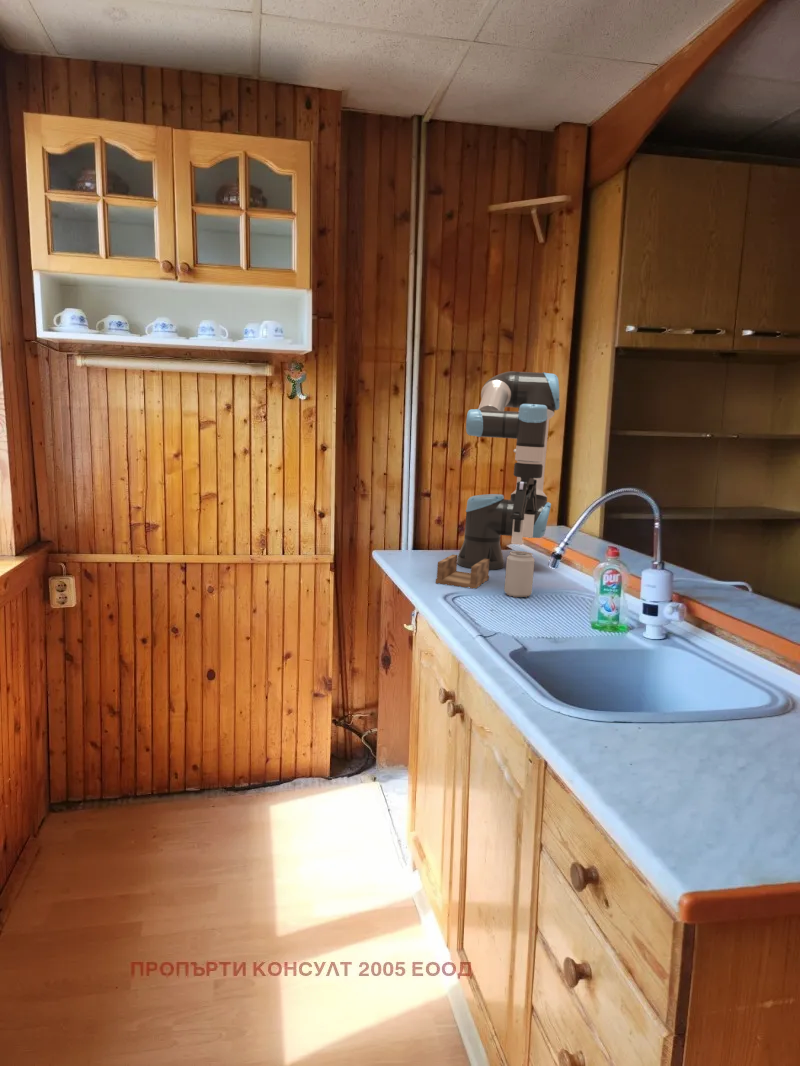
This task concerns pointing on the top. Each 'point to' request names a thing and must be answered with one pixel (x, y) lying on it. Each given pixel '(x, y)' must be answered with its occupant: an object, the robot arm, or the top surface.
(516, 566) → the can
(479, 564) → the rack
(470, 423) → the robot arm
